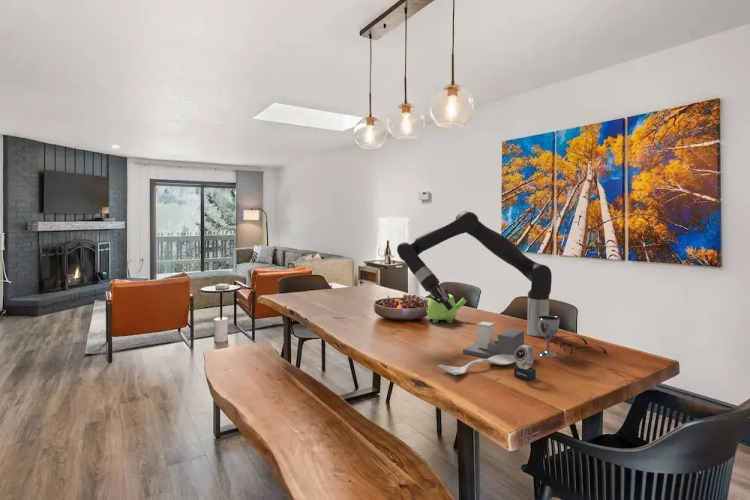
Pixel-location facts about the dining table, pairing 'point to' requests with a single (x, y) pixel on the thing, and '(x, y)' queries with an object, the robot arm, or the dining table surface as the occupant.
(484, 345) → the white rectangular block
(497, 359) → the spoon
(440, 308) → the teapot
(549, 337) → the wine glass
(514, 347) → the grey block model
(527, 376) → the watch
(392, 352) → the dining table surface
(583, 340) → the eyeglasses
